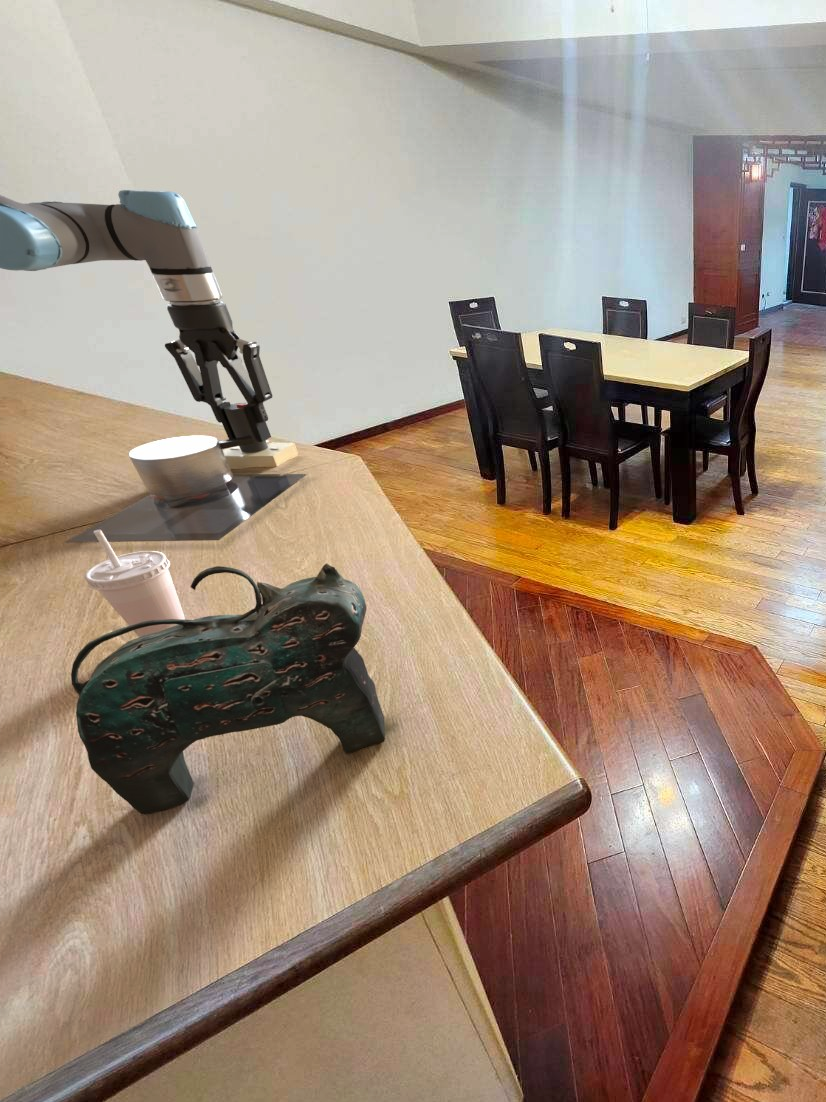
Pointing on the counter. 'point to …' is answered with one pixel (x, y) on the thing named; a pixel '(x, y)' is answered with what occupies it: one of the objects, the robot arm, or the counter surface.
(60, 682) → the counter surface
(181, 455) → the saucepan
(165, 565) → the smoothie
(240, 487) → the hob
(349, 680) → the ceramic cat
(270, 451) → the cream base block
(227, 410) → the dark grey cylinder
